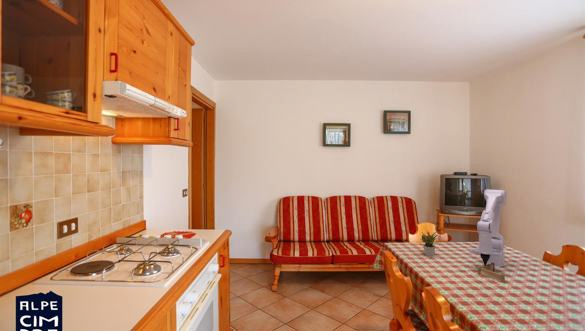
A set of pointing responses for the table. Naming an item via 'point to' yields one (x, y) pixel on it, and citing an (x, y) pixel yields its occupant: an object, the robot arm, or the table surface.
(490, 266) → the fence panel
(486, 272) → the fence fixed
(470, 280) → the table surface
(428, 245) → the house plant
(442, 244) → the table surface
